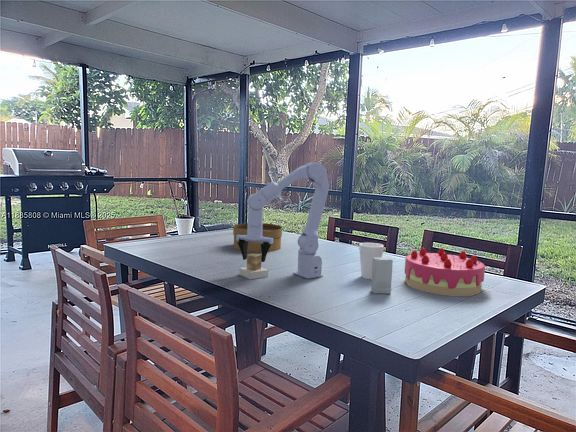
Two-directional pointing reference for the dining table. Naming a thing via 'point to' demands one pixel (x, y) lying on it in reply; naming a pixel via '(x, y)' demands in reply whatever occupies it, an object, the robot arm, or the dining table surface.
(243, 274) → the tile block
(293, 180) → the robot arm
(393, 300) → the dining table surface
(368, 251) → the foam cup
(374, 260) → the skincare box
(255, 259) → the oak block
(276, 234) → the steamer basket
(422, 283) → the cake
